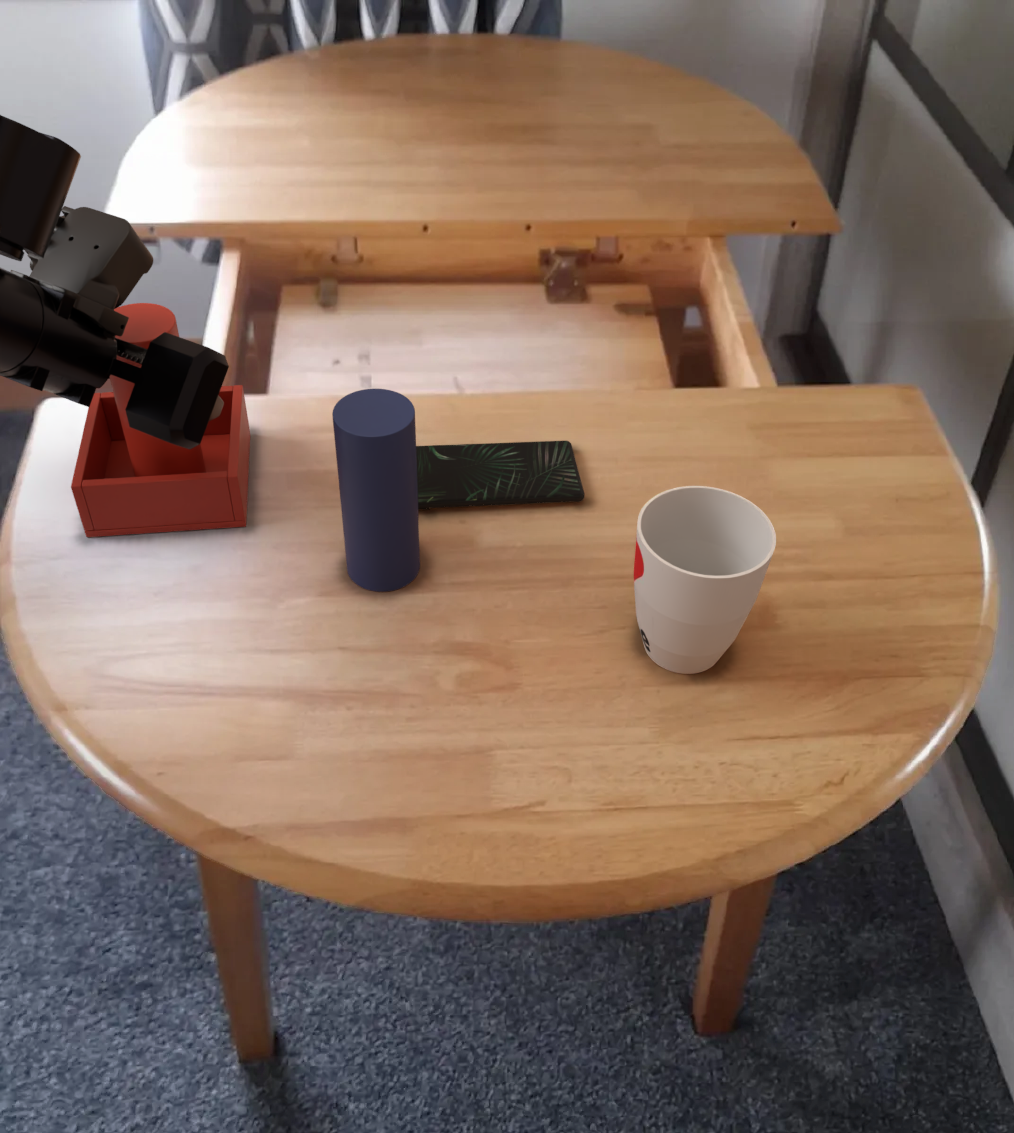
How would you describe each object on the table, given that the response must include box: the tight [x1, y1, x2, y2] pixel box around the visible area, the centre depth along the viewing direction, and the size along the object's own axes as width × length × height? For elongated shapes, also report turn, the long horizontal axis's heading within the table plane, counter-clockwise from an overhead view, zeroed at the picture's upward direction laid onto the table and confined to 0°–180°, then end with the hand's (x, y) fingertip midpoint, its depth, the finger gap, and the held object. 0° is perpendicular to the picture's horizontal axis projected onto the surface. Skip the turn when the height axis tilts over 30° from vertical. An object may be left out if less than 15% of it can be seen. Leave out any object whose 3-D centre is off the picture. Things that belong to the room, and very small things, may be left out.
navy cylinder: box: [332, 388, 421, 593], centre depth 72 cm, size 5×5×13 cm
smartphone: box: [416, 440, 585, 511], centre depth 83 cm, size 7×1×15 cm
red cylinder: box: [109, 302, 206, 477], centre depth 78 cm, size 5×5×13 cm
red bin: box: [70, 384, 251, 538], centre depth 81 cm, size 11×11×5 cm
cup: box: [633, 485, 777, 675], centre depth 69 cm, size 8×8×10 cm
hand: (167, 389), depth 78 cm, fingers open, 9 cm apart
